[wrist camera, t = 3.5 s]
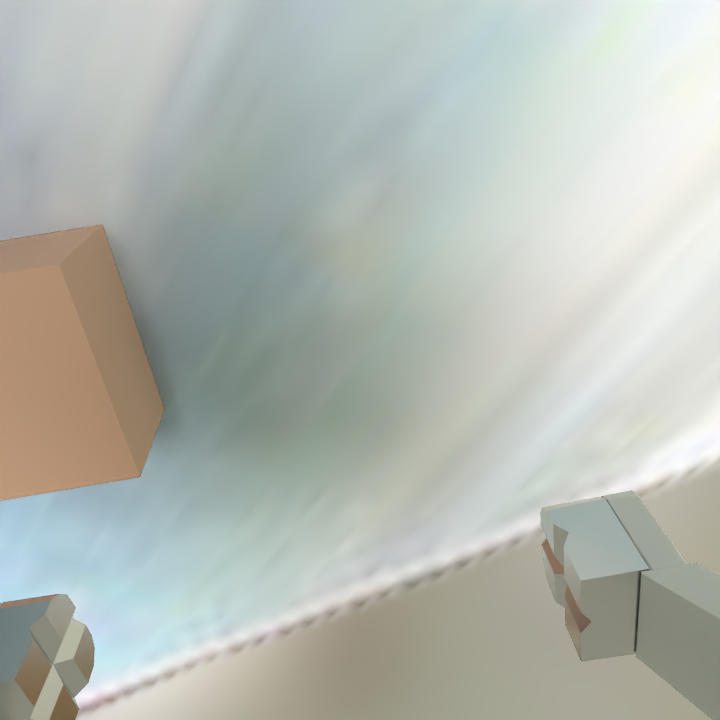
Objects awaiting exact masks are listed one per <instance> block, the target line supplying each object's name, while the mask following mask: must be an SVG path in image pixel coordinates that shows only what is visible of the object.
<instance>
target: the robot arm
mask: <svg viewBox="0 0 720 720" xmlns="http://www.w3.org/2000/svg"><path fill="white" fill-rule="evenodd" d="M540 515H541V527H542V529H543V531H544V533H545V536H546V540H545V542H543V544H542V554H543V562H544V567H545V572H546V576H547V580H548V583H549V586H550V589H551V591H552V594H553V596H554V599H555V601H556V602H557V603H559V604H560V605H562V606H563V607H564V608H565V625H566V627H567V630H568V632H569V634H570V636H571V639H572V641H573V643H574V646H575V648H576V650H577V653H578V655H579V657H580V660H581V661H588V660H595V659H602V658H609V657H616V656H623V655H629V654H636V657H637V658H638V659H640V660H641V661H642V662H643V663H644V664H646V665H647V666H648V667H649V668H650V669H652V670H653V671H654V672H655V673H656V674H658V675H659V676H660V677H661V678H663V679H664V680H665V681H666V682H667V683H669V684H670V685H671V686H672V687H673V688H675V689H676V690H677V691H678V692H679V693H681V694H682V695H683V696H684V697H685V698H687V699H688V700H689V701H690V702H692V703H693V704H694V705H695V706H696V707H698V708H699V709H700V710H701V711H702V712H704V713H705V714H706V715H707V716H708V717H710V718H711V719H712V720H720V575H719V574H717V573H715V572H714V571H712V570H710V569H708V568H706V567H704V566H702V565H700V564H699V563H689V564H687V563H686V562H685V560H684V559H683V558H682V556H681V555H680V553H679V552H678V551H677V549H676V548H675V546H674V545H673V544H672V542H671V541H670V539H669V538H668V536H667V535H666V534H665V532H664V531H663V530H662V528H661V527H660V525H659V524H658V523H657V521H656V520H655V518H654V517H653V515H652V514H651V512H650V511H649V510H648V508H647V507H646V505H645V504H644V503H643V501H642V500H641V498H640V497H639V496H638V494H637V493H635V492H633V491H626V492H621V493H616V494H610V495H605V496H602V497H595V498H590V499H585V500H579V501H574V502H569V503H563V504H558V505H553V506H547V507H542V509H541V514H540ZM75 608H76V607H75V606H74V604H73V603H72V601H71V600H70V598H69V597H68V595H66V594H55V595H49V596H42V597H35V598H29V599H22V600H16V601H9V602H3V603H0V720H75V719H76V716H77V713H78V710H79V708H78V705H77V703H76V700H75V698H74V697H75V696H76V695H77V694H78V693H79V692H80V691H81V690H82V689H83V688H84V687H85V686H86V685H87V683H88V682H89V679H90V675H91V672H92V669H93V666H94V649H95V648H94V643H93V639H92V635H91V633H90V631H89V630H88V628H87V626H86V625H85V624H83V623H81V622H79V621H77V620H75V619H73V618H72V616H73V614H74V611H75Z"/></svg>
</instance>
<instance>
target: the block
mask: <svg viewBox="0 0 720 720" xmlns="http://www.w3.org/2000/svg"><path fill="white" fill-rule="evenodd" d="M164 410H165V408H164V405H163V403H162V400H161V397H160V394H159V391H158V388H157V385H156V382H155V379H154V376H153V373H152V370H151V367H150V364H149V361H148V358H147V355H146V352H145V349H144V346H143V343H142V340H141V337H140V334H139V331H138V328H137V325H136V323H135V320H134V317H133V314H132V311H131V308H130V305H129V302H128V299H127V296H126V293H125V290H124V287H123V284H122V281H121V278H120V275H119V272H118V269H117V266H116V263H115V260H114V257H113V254H112V251H111V248H110V245H109V243H108V240H107V237H106V234H105V231H104V228H103V225H96V226H90V227H84V228H77V229H71V230H65V231H59V232H52V233H46V234H40V235H34V236H27V237H21V238H15V239H9V240H2V241H0V501H1V500H7V499H13V498H19V497H25V496H31V495H37V494H43V493H49V492H55V491H61V490H67V489H73V488H79V487H84V486H90V485H96V484H102V483H108V482H114V481H120V480H126V479H132V478H138V477H140V476H141V473H142V470H143V468H144V465H145V462H146V459H147V457H148V454H149V451H150V448H151V446H152V443H153V440H154V437H155V435H156V432H157V429H158V426H159V424H160V421H161V418H162V415H163V412H164Z"/></svg>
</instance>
